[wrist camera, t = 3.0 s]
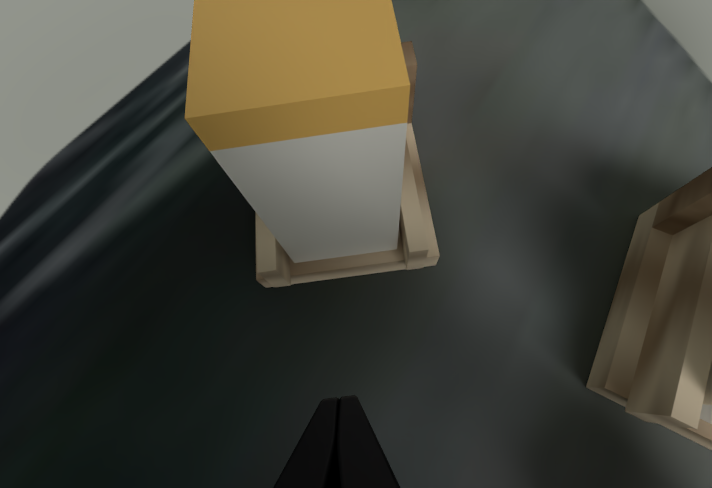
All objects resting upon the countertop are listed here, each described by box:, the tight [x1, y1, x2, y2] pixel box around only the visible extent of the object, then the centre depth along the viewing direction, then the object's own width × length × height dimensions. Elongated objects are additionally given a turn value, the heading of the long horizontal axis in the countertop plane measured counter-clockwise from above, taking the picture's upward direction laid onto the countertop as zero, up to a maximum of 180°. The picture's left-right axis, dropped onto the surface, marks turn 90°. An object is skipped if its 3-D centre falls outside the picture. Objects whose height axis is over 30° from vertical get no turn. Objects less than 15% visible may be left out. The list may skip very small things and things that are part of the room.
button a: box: [185, 0, 410, 263], centre depth 13 cm, size 4×5×10 cm
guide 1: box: [256, 41, 440, 288], centre depth 18 cm, size 10×9×6 cm
